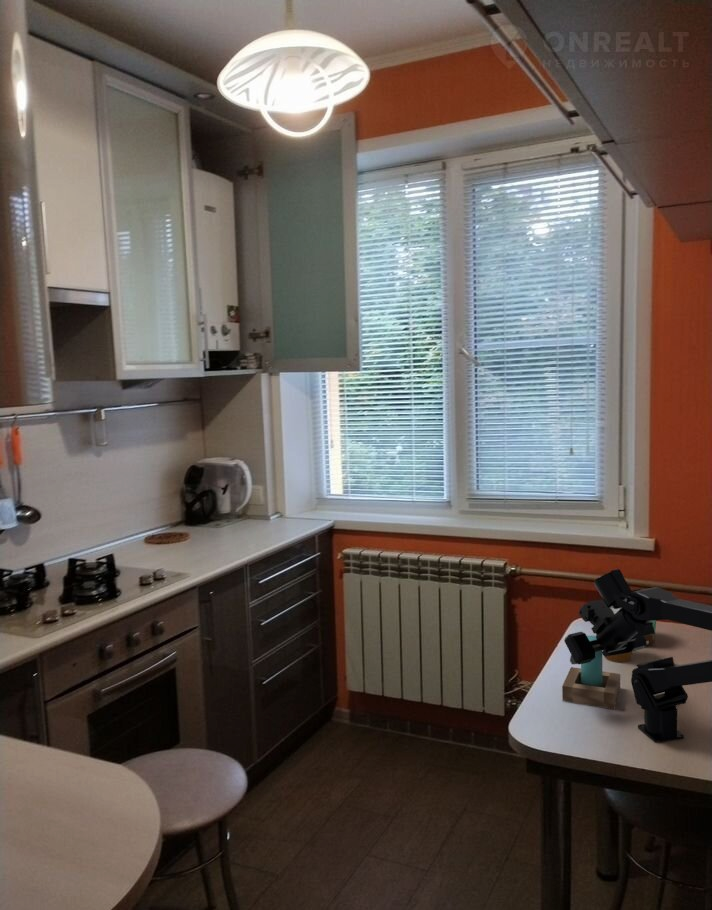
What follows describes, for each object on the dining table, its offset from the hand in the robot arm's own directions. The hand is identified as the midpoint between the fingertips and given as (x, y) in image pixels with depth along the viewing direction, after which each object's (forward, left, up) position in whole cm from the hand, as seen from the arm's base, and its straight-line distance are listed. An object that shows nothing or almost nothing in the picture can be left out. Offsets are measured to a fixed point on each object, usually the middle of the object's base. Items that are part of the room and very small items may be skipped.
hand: (587, 658), depth 165 cm
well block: (-1, 0, -8) cm, 8 cm away
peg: (-1, 0, -8) cm, 8 cm away
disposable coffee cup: (+16, -17, -8) cm, 25 cm away
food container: (+24, -30, -8) cm, 39 cm away
